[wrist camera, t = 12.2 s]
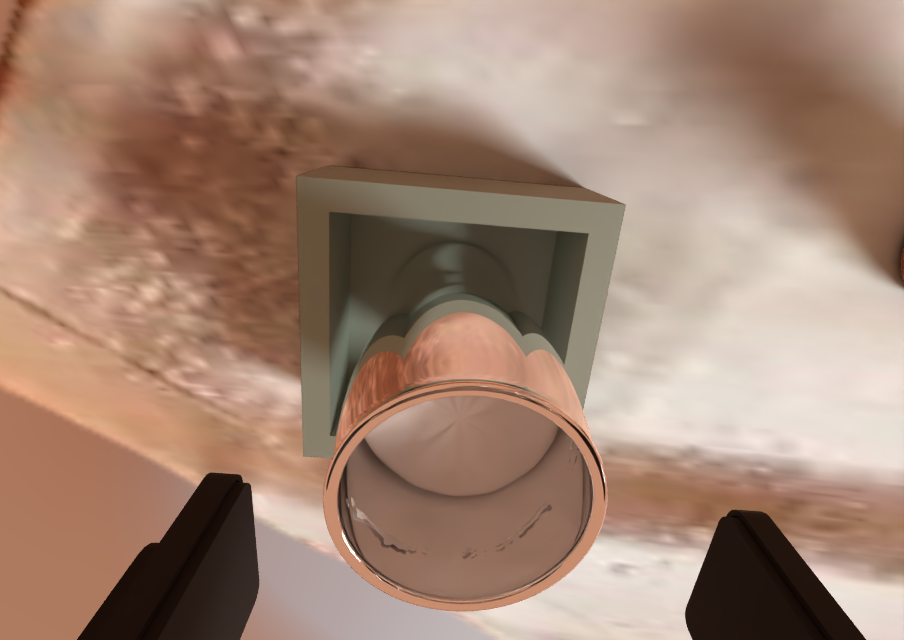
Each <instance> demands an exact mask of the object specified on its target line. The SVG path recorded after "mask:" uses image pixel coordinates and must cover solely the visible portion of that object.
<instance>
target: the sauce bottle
mask: <svg viewBox="0 0 904 640" xmlns="http://www.w3.org/2000/svg"><path fill="white" fill-rule="evenodd" d="M901 253H902V255H901V263H900V266H901V276H902V279H903V281H904V247H903V250H902V252H901Z"/></svg>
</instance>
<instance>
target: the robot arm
mask: <svg viewBox="0 0 904 640" xmlns="http://www.w3.org/2000/svg"><path fill="white" fill-rule="evenodd" d="M258 573H259V572H258V561H257V549H256V538H255V526H254V514H253V503H252V491H251V485H250V484H249V483H243V480H242V477H241V475H238V474H223V473H209V474H207V475H206V476H205V477H204V479H203V480H202V482H201V483H200V485H199V486H198V487H197V489H196V490H195V492H194V493H193V495H192V496H191V498H190V499H189V501H188V502H187V503H186V505H185V506H184V508H183V509H182V511H181V512H180V514H179V515H178V517H177V518H176V519H175V521H174V522H173V524H172V525H171V527H170V528H169V530H168V531H167V532H166V534H165V535H164V537H163V538H162V540H161V541H160V543H150V544H149V545H147V546H146V547H144V549H143V550H142V551H141V552H140V553H139V554H138V555H137V557H136V558H135V559H134V561H133V562H132V564H131V565H130V566H129V568H128V569H127V571H126V572H125V573H124V575H123V576H122V578H121V579H120V580H119V582H118V583H117V585H116V586H115V587H114V589H113V590H112V591H111V593H110V594H109V596H108V597H107V599H106V600H105V601H104V603H103V604H102V605H101V607H100V608H99V610H98V611H97V612H96V614H95V615H94V617H93V618H92V619H91V621H90V622H89V623H88V625H87V626H86V628H85V629H84V631H83V632H82V633H81V635H80V636H79V637H78V639H77V640H240V638H241V636H242V633H243V631H244V628H245V626H246V623H247V621H248V618H249V616H250V614H251V611H252V609H253V606H254V604H255V601H256V598H257V594H258V589H259V574H258ZM685 618H686V624H687V628H688V630H689V633H690V635H691V637H692V639H693V640H866V639H865V638H864V636H863V635H862V634H861V632H860V631H859V630H858V629H857V627H856V626H855V625H854V624H853V622H852V621H851V620H850V618H849V617H848V616H847V615H846V613H845V612H844V611H843V610H842V608H841V607H840V606H839V604H838V603H837V602H836V601H835V599H834V598H833V597H832V596H831V594H830V593H829V592H828V590H827V589H826V588H825V587H824V585H823V584H822V583H821V582H820V580H819V579H818V578H817V576H816V575H815V574H814V573H813V571H812V570H811V569H810V568H809V566H808V565H807V564H806V562H805V561H804V560H803V559H802V557H801V556H800V555H799V554H798V552H797V551H796V550H795V549H794V547H793V546H792V545H791V543H790V542H789V541H788V540H787V538H786V537H785V536H784V535H783V533H782V532H781V531H780V529H779V528H778V527H777V526H776V524H775V523H774V522H773V521H772V519H771V518H770V517H769V516H768V515H767V514H766V513H763V512H759V511H745V510H731V511H730V512H729V513H728V514H727V516H726V517H722V518H721V519H720V521H719V523H718V526H717V528H716V531H715V533H714V536H713V539H712V541H711V544H710V547H709V549H708V552H707V554H706V557H705V560H704V562H703V565H702V568H701V570H700V573H699V575H698V578H697V581H696V583H695V586H694V589H693V591H692V594H691V596H690V599H689V602H688V604H687V607H686V611H685Z"/></svg>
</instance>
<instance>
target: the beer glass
mask: <svg viewBox="0 0 904 640" xmlns="http://www.w3.org/2000/svg"><path fill="white" fill-rule="evenodd" d="M393 308H394V309H393V310H392V311H391V312H390V313H389V314H388V315H387V316H386V317H385V319H384V320H383V321H382V322H381V324H380V325H379V326H378V328H377V329H376V331H375V332H374V333H373V335H372V336H371V338H370V339H369V341H368V342H367V344H366V346H365V347H364V349H363V351H362V354H361V356H360V358H359V360H358V363H357V365H356V367H355V369H354V372H353V374H352V377H351V379H350V382H349V386H348V389H347V392H346V396H345V399H344V402H343V406H342V410H341V414H340V419H339V423H338V428H337V432H336V438H335V443H334V449H333V454H332V459H331V462H330V464H329V467H328V470H327V474H326V477H325V482H324V490H323V508H324V515H325V520H326V524H327V528H328V531H329V533H330V536H331V538H332V540H333V542H334V544H335V546H336V548H337V549H338V551H339V552H340V554H341V555H342V557H343V558H344V559H345V561H346V562H347V563H348V564H349V565H350V566H351V568H352V569H353V570H354V571H355V572H356V573H358V574H359V575H360V576H361V577H362V578H363V579H365V580H366V581H367V582H369V583H370V584H371V585H373V586H374V587H376V588H377V589H379V590H381V591H383V592H384V593H386V594H388V595H390V596H393V597H395V598H397V599H399V600H402V601H405V602H408V603H411V604H414V605H417V606H422V607H426V608H431V609H437V610H446V611H478V610H487V609H493V608H498V607H502V606H506V605H510V604H513V603H516V602H519V601H522V600H525V599H527V598H530V597H532V596H534V595H536V594H538V593H540V592H542V591H544V590H546V589H547V588H549V587H551V586H552V585H554V584H555V583H557V582H558V581H560V580H561V579H562V578H564V577H565V576H566V575H567V574H568V573H570V572H571V571H572V570H573V569H574V568H575V567H576V566H577V565H578V564H579V563H580V561H581V560H582V559H583V558H584V557H585V555H586V554H587V553H588V551H589V550H590V548H591V547H592V545H593V543H594V542H595V540H596V538H597V536H598V534H599V532H600V529H601V527H602V524H603V521H604V517H605V513H606V508H607V498H608V489H607V479H606V473H605V469H604V466H603V463H602V460H601V457H600V455H599V453H598V451H597V449H596V447H595V445H594V443H593V440H592V437H591V434H590V431H589V428H588V424H587V421H586V418H585V415H584V413H583V410H582V407H581V404H580V401H579V398H578V396H577V393H576V391H575V388H574V386H573V384H572V382H571V379H570V377H569V375H568V372H567V370H566V368H565V366H564V364H563V362H562V360H561V358H560V357H559V355H558V353H557V352H556V350H555V349H554V347H553V345H552V344H551V342H550V340H549V339H548V337H547V336H546V334H545V333H544V332H543V331H542V329H541V328H540V327H539V326H538V325H537V324H536V323H535V322H534V321H533V320H532V318H531V317H530V316H529V315H528V314H527V313H526V312H525V311H524V310H523V309H522V308H520V307H519V306H518V305H517V304H516V303H514V302H513V295H512V288H511V284H510V281H509V278H508V276H507V274H506V272H505V270H504V268H503V267H502V266H501V264H500V263H499V262H498V261H497V260H496V259H495V258H494V257H493V256H492V255H490V254H489V253H487V252H486V251H484V250H482V249H480V248H478V247H476V246H473V245H470V244H465V243H458V242H448V243H441V244H437V245H434V246H431V247H428V248H426V249H424V250H422V251H421V252H419V253H418V254H416V255H415V256H414V257H412V258H411V259H410V260H409V261H408V262H407V263H406V265H405V266H404V267H403V269H402V270H401V272H400V274H399V276H398V278H397V280H396V283H395V287H394V292H393Z"/></svg>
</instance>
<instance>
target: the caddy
mask: <svg viewBox="0 0 904 640" xmlns="http://www.w3.org/2000/svg"><path fill="white" fill-rule="evenodd" d="M296 194H297V234H298V273H299V312H300V352H301V391H302V430H303V456H304V457H321V458H332V454H333V449H334V443H335V438H336V432H337V428H338V423H339V419H340V414H341V410H342V406H343V402H344V399H345V396H346V392H347V389H348V386H349V382H350V379H351V377H352V374H353V372H354V369H355V367H356V365H357V363H358V360H359V358H360V356H361V354H362V351H363V349H364V347H365V346H366V344H367V342H368V341H369V339H370V338H371V336H372V335H373V333H374V332H375V331H376V329H377V328H378V326H379V325H380V324H381V322H382V321H383V320H384V319H385V317H386V316H387V315H388V314H389V313H390V312H391V311H392V310H393V309H394V308H393V292H394V287H395V283H396V280H397V278H398V276H399V274H400V272H401V270H402V269H403V267H404V266H405V265H406V263H407V262H408V261H409V260H410V259H411V258H412V257H414V256H415V255H416V254H418V253H419V252H421V251H422V250H424V249H426V248H428V247H431V246H434V245H437V244H441V243H448V242H458V243H465V244H470V245H473V246H476V247H478V248H480V249H482V250H484V251H486V252H487V253H489V254H490V255H492V256H493V257H494V258H495V259H496V260H497V261H498V262H499V263H500V264H501V266H502V267H503V268H504V270H505V272H506V274H507V276H508V278H509V281H510V284H511V288H512V295H513V302H514V303H516V304H517V305H518V306H519V307H520V308H522V309H523V310H524V311H525V312H526V313H527V314H528V315H529V316H530V317H531V318H532V320H533V321H534V322H535V323H536V324H537V325H538V326H539V327H540V328H541V329H542V331H543V332H544V333H545V334H546V336H547V337H548V339H549V340H550V342H551V344H552V345H553V347H554V349H555V350H556V352H557V353H558V355H559V357H560V358H561V360H562V362H563V364H564V366H565V368H566V370H567V372H568V375H569V377H570V379H571V382H572V384H573V386H574V388H575V391H576V393H577V396H578V398H579V401H580V404H581V407H582V410H583V408H584V403H585V398H586V393H587V389H588V384H589V379H590V374H591V369H592V365H593V360H594V355H595V350H596V345H597V341H598V336H599V331H600V326H601V321H602V317H603V312H604V307H605V302H606V297H607V293H608V288H609V283H610V278H611V273H612V269H613V264H614V259H615V254H616V249H617V245H618V240H619V235H620V230H621V225H622V221H623V216H624V211H625V206H626V205H625V204H623V203H620V202H618V201H616V200H613V199H611V198H608V197H606V196H603V195H601V194H598V193H596V192H594V191H591V190H589V189H586V188H580V187H569V186H557V185H546V184H535V183H523V182H512V181H500V180H489V179H478V178H466V177H455V176H444V175H432V174H421V173H409V172H398V171H387V170H375V169H364V168H353V167H341V166H330V165H329V166H326V167H323V168H320V169H317V170H314V171H311V172H307V173H304V174H301V175H298V176H296Z"/></svg>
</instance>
